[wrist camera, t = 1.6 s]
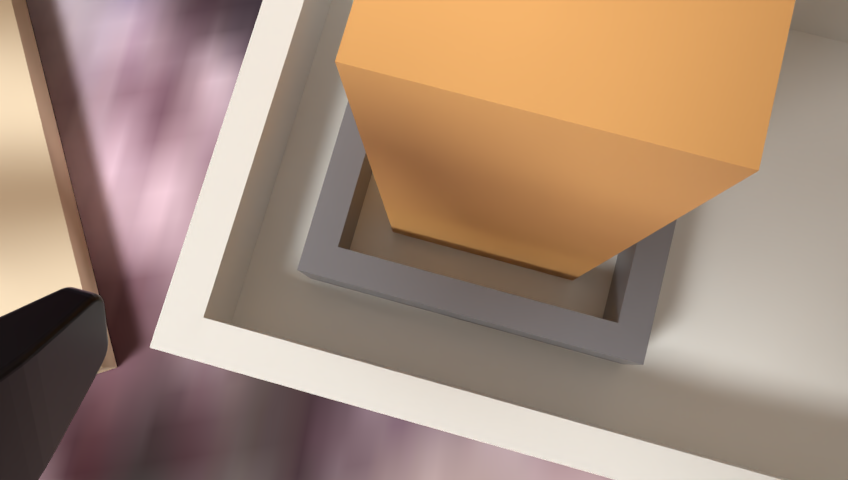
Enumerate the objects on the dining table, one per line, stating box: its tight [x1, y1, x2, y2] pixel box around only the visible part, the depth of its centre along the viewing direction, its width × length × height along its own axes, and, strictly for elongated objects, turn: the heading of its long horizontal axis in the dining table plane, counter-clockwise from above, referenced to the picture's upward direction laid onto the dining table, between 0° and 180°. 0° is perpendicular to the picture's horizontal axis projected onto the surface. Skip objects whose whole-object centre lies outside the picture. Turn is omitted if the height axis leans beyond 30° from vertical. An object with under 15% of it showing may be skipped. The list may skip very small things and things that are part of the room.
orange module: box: [335, 0, 795, 281], centre depth 15 cm, size 5×5×12 cm
